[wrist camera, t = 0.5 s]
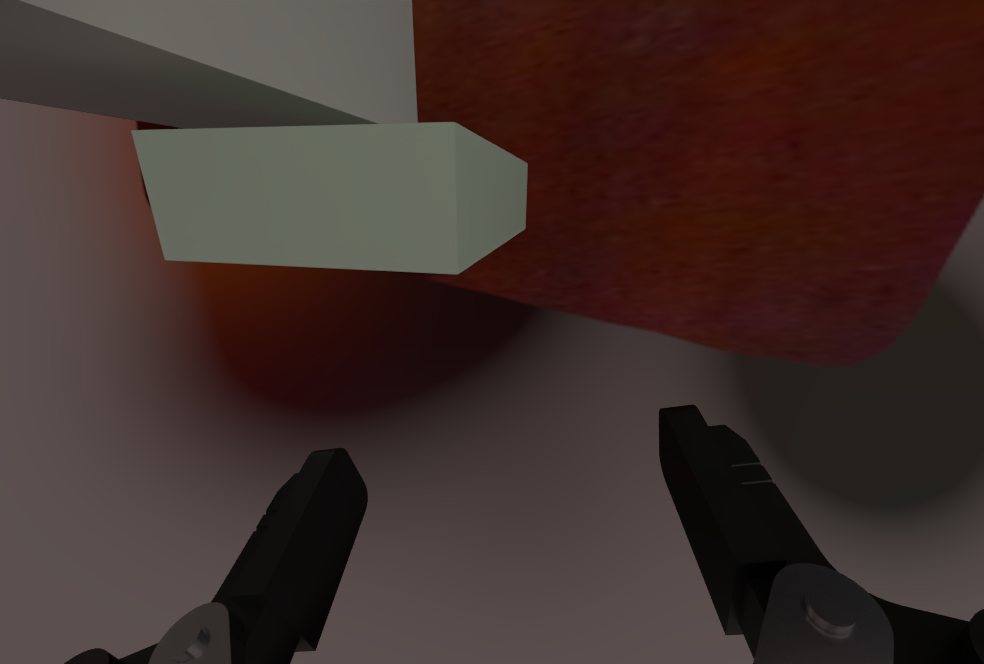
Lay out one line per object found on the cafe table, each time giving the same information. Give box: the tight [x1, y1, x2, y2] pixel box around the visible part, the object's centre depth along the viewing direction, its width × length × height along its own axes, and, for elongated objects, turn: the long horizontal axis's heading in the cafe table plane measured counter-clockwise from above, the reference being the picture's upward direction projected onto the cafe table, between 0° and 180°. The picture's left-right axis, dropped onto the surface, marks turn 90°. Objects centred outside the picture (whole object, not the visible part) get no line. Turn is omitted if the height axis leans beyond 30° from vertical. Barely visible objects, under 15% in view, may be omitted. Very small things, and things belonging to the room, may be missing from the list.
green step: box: [131, 122, 528, 274], centre depth 24 cm, size 5×13×20 cm, turn 89°
